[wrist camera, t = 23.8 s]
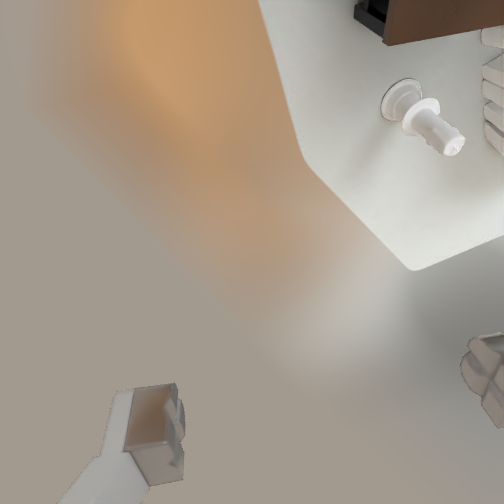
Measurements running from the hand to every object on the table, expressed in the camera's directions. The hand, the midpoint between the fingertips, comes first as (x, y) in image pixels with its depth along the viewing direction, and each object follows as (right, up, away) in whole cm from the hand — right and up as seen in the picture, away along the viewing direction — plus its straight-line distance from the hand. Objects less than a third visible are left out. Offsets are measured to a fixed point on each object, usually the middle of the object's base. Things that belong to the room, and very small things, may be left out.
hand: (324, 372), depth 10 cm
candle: (+17, +23, +36) cm, 46 cm away
